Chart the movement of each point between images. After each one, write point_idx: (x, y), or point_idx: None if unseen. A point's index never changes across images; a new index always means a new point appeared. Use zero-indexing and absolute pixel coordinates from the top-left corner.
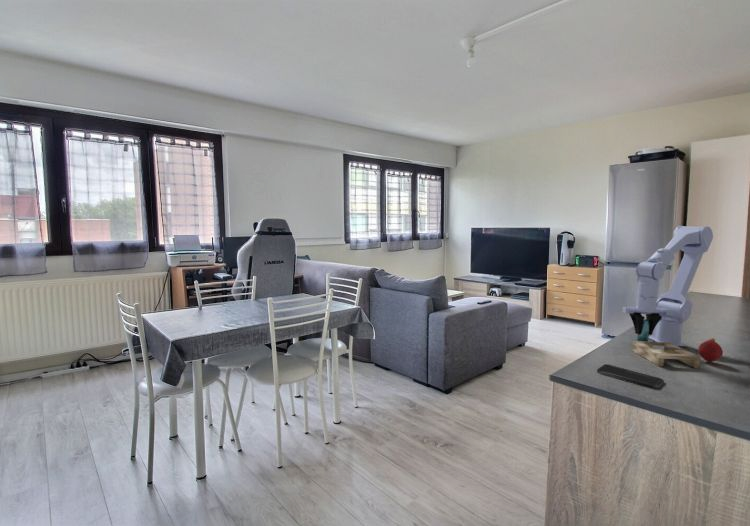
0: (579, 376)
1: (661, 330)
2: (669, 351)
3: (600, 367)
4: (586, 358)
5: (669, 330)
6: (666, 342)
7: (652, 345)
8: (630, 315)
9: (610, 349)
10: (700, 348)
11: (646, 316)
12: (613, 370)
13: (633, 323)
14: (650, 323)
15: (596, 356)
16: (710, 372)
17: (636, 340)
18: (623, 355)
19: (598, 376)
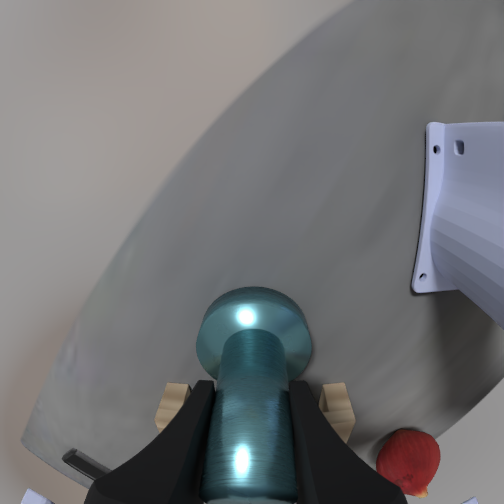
0: (45, 455)
1: (478, 273)
2: None
3: (65, 456)
4: (35, 410)
5: (492, 318)
6: (338, 424)
7: (291, 377)
8: (106, 485)
9: (85, 363)
10: (382, 473)
11: (314, 497)
12: (86, 468)
13: (162, 433)
14: (299, 477)
15: (51, 406)
16: None
17: (234, 321)
18: (120, 414)
19: (67, 464)
